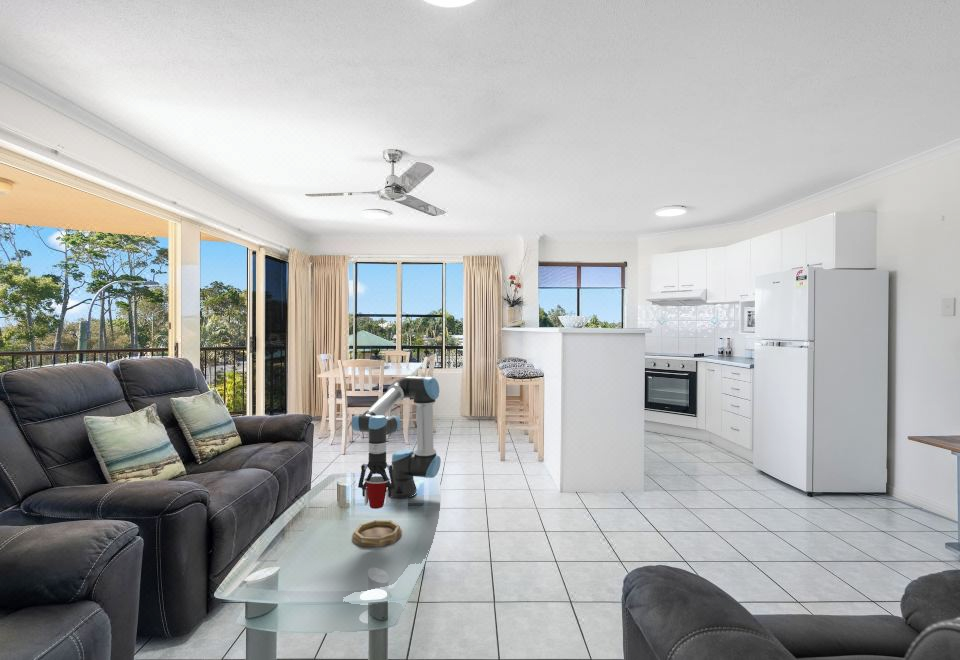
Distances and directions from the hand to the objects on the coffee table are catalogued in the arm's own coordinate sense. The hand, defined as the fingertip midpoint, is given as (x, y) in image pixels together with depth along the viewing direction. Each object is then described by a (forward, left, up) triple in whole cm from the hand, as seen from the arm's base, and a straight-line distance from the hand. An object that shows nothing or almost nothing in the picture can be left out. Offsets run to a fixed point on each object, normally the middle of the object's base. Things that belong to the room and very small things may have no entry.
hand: (377, 504), depth 193 cm
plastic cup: (0, 0, -1) cm, 1 cm away
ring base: (0, 0, -14) cm, 14 cm away
